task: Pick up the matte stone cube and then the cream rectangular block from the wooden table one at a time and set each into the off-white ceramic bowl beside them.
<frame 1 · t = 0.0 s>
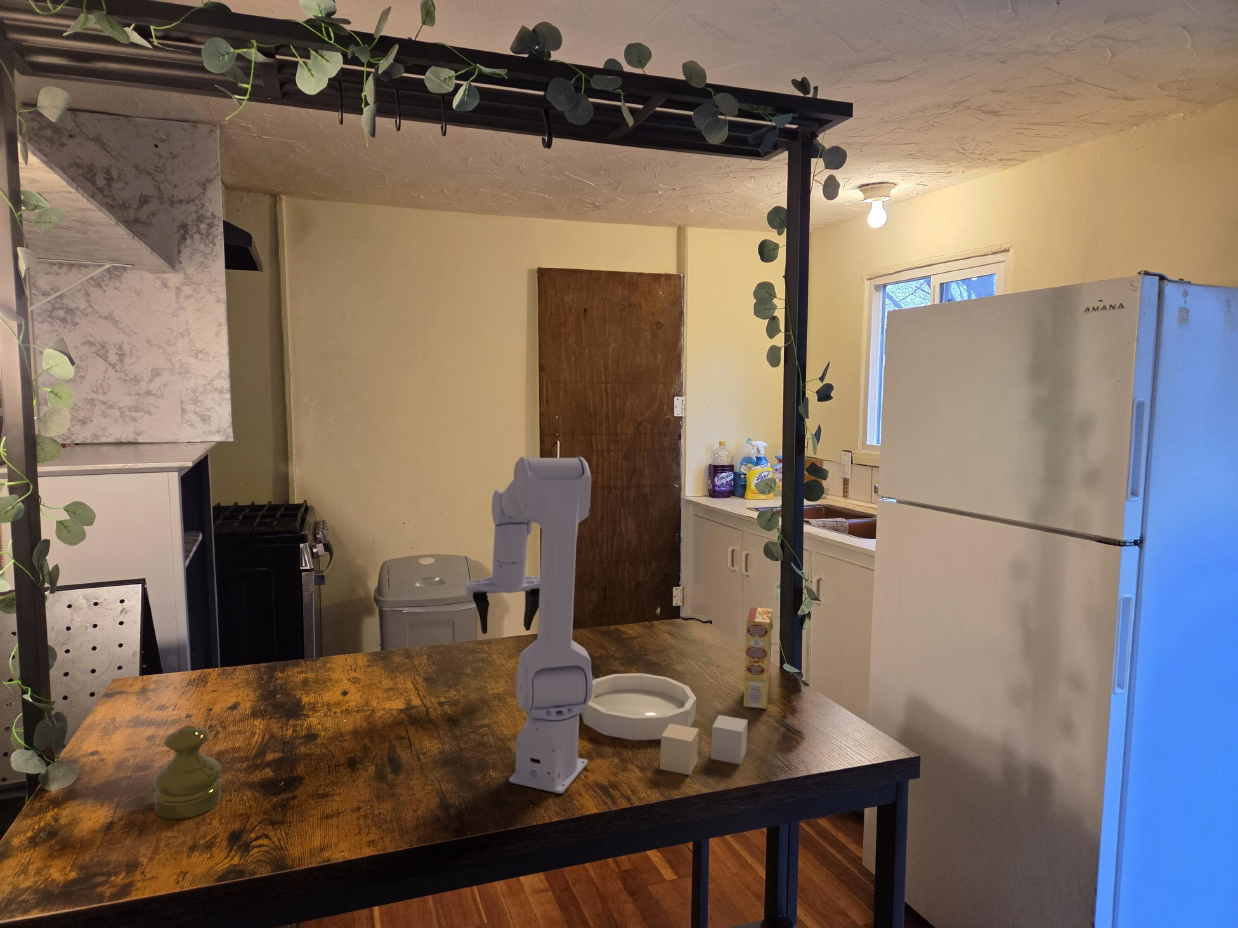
hand: (505, 629, 138), 11 cm above the table, tool pointing down, fingers open, 7 cm apart
matte stone cube: (728, 755, 117), on the table
cream rectangular block: (678, 765, 113), on the table
olive green knobbed piece: (188, 806, 98), on the table
candy box: (755, 699, 138), on the table
bowl: (637, 714, 130), on the table
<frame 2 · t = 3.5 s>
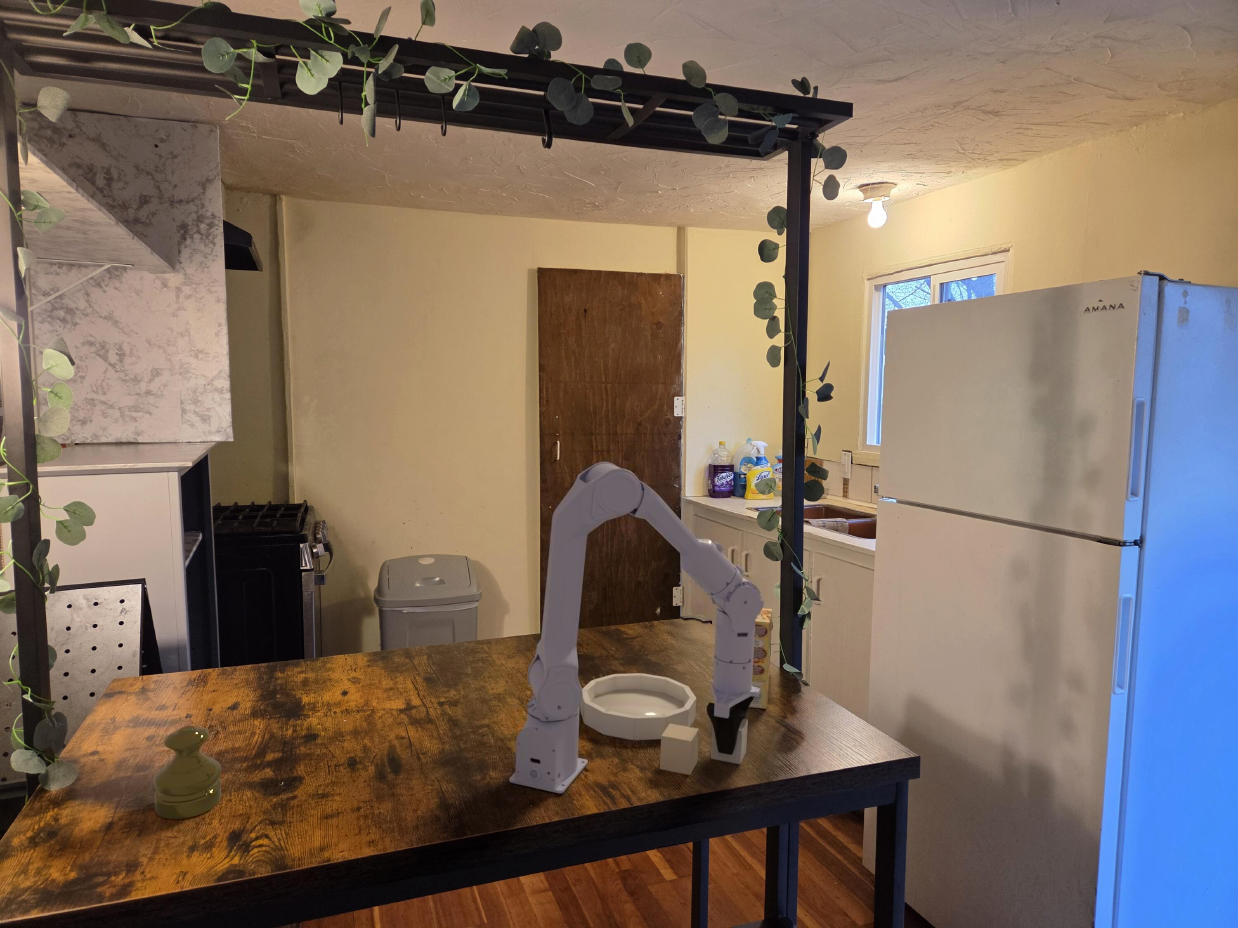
hand: (729, 745, 116), 1 cm above the table, tool pointing down, fingers closed on matte stone cube, 4 cm apart
matte stone cube: (728, 754, 117), on the table, touching gripper
everything else where it was.
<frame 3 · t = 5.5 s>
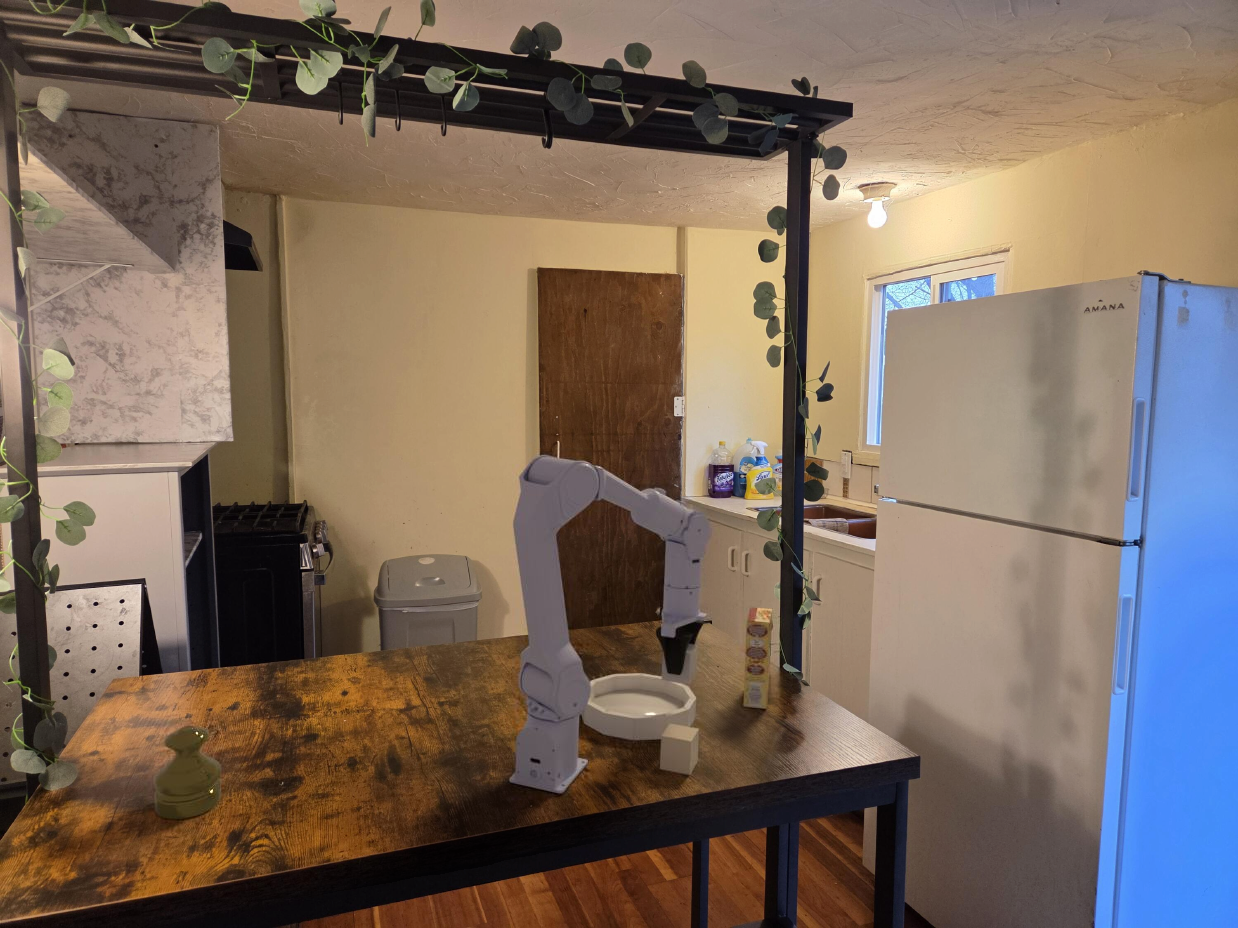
hand: (678, 668, 124), 10 cm above the table, tool pointing down, fingers closed on matte stone cube, 4 cm apart
matte stone cube: (679, 677, 124), point 8 cm above the table, touching gripper
everything else where it was.
when the fingers open (4 cm above the table, at t = 7.5 s): matte stone cube drops 1 cm, resting on bowl.
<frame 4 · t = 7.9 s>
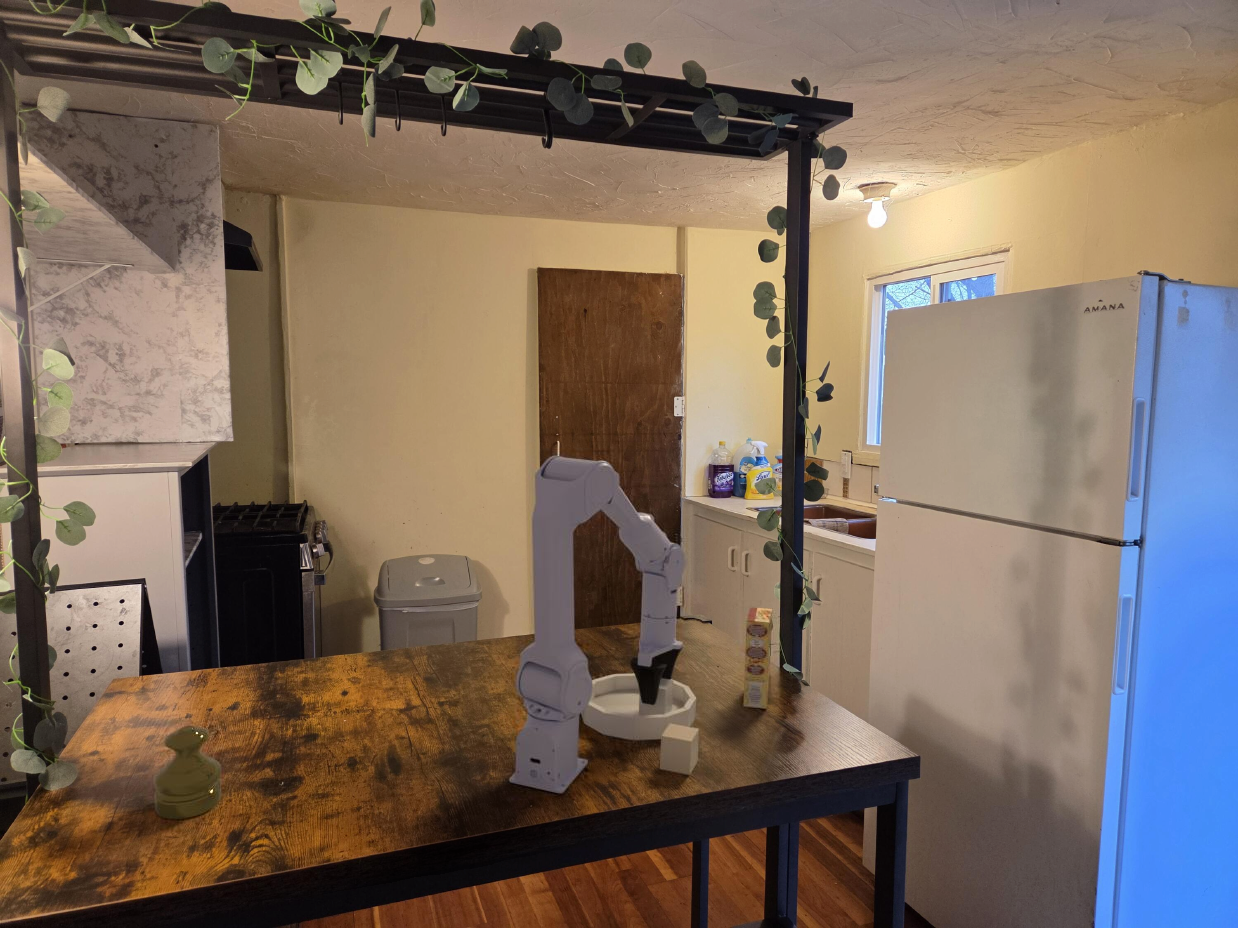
hand: (655, 694, 128), 4 cm above the table, tool pointing down, fingers open, 7 cm apart
matte stone cube: (655, 711, 129), point 1 cm above the table, touching bowl
everything else where it was.
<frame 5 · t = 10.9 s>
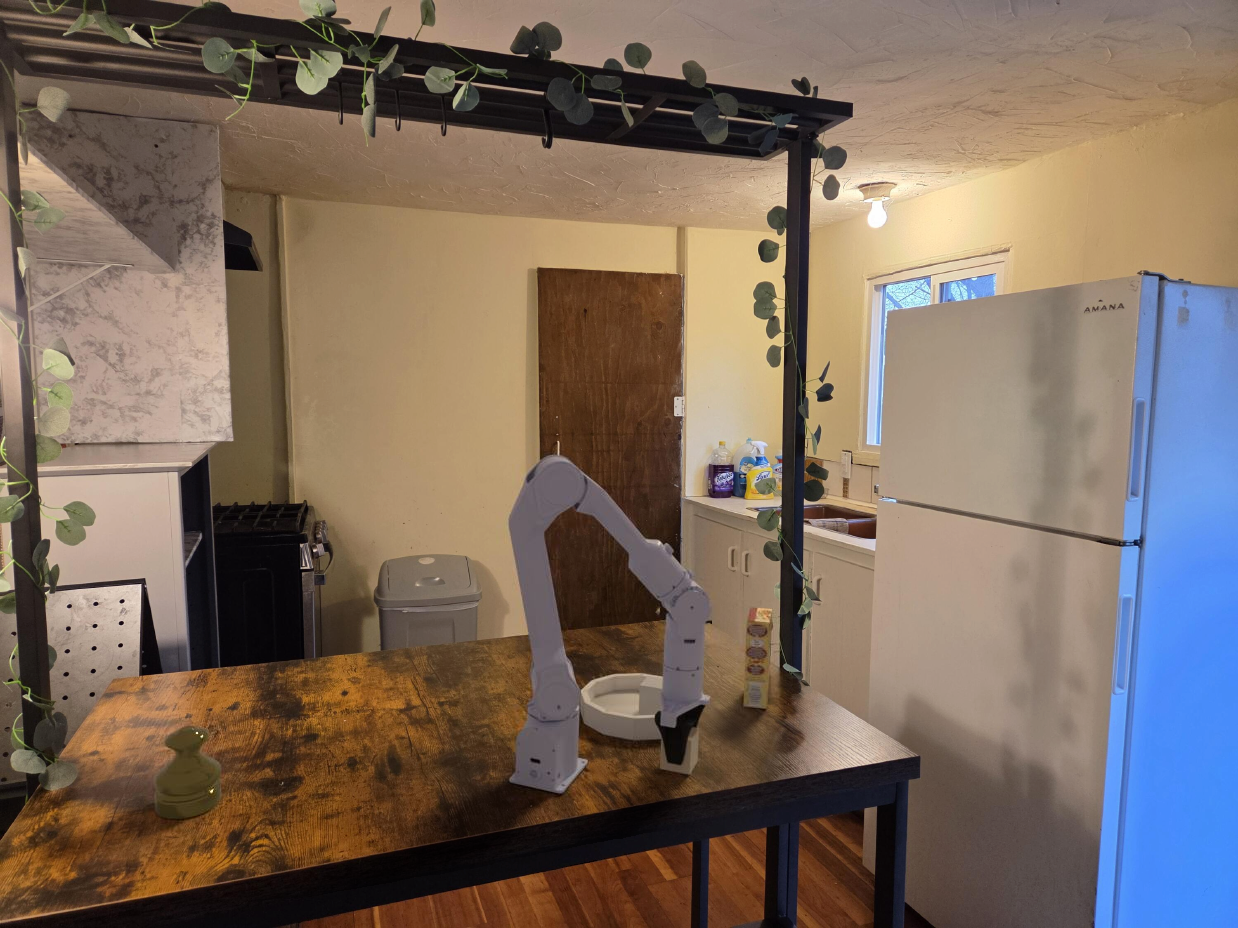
hand: (679, 755, 113), 1 cm above the table, tool pointing down, fingers closed on cream rectangular block, 4 cm apart
cream rectangular block: (679, 764, 113), on the table, touching gripper
everything else where it was.
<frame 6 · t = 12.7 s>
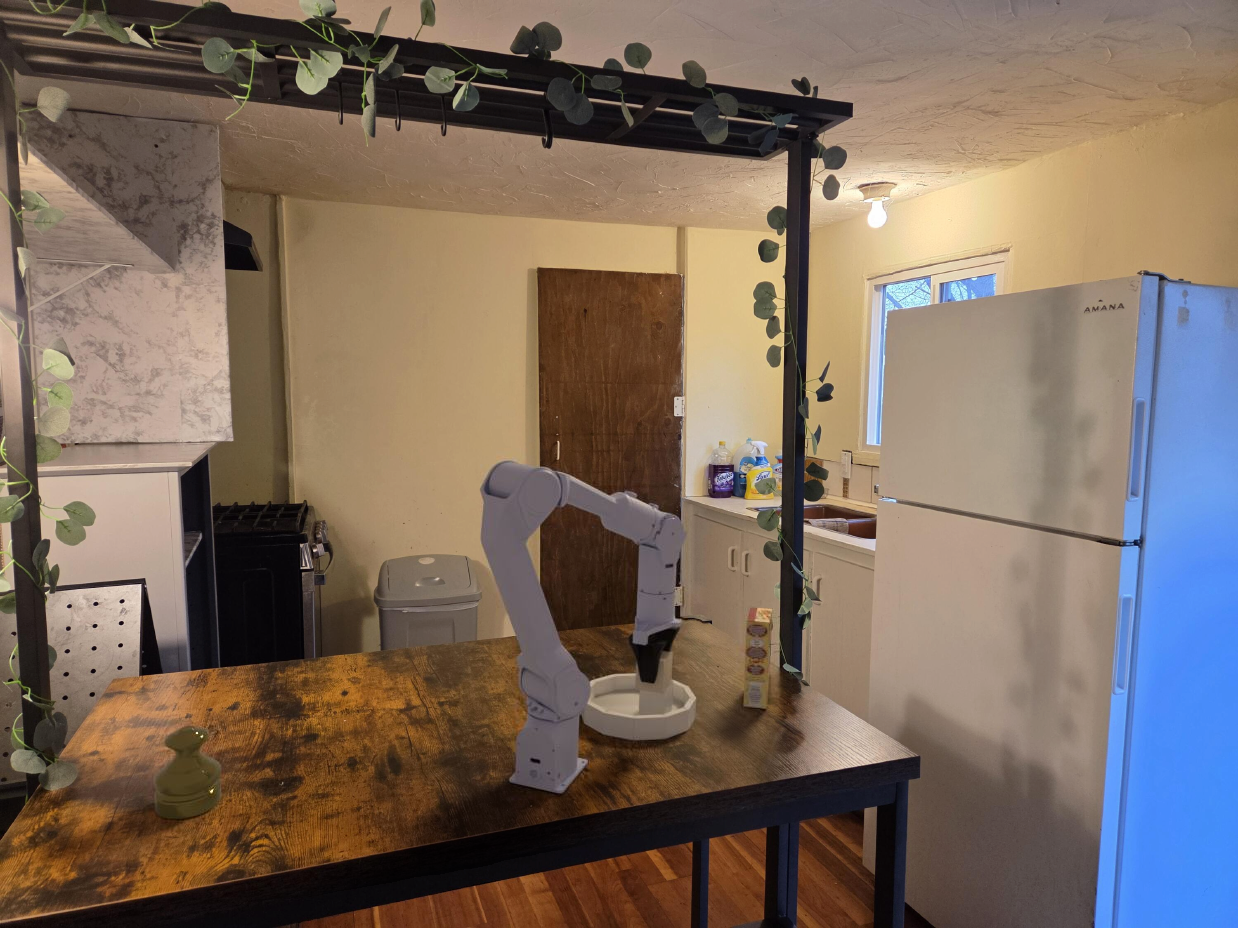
hand: (653, 676, 120), 10 cm above the table, tool pointing down, fingers closed on cream rectangular block, 4 cm apart
cream rectangular block: (653, 686, 120), point 8 cm above the table, touching gripper
everything else where it was.
when the fingers open (4 cm above the table, at t = 15.0 s): cream rectangular block drops 1 cm, resting on bowl.
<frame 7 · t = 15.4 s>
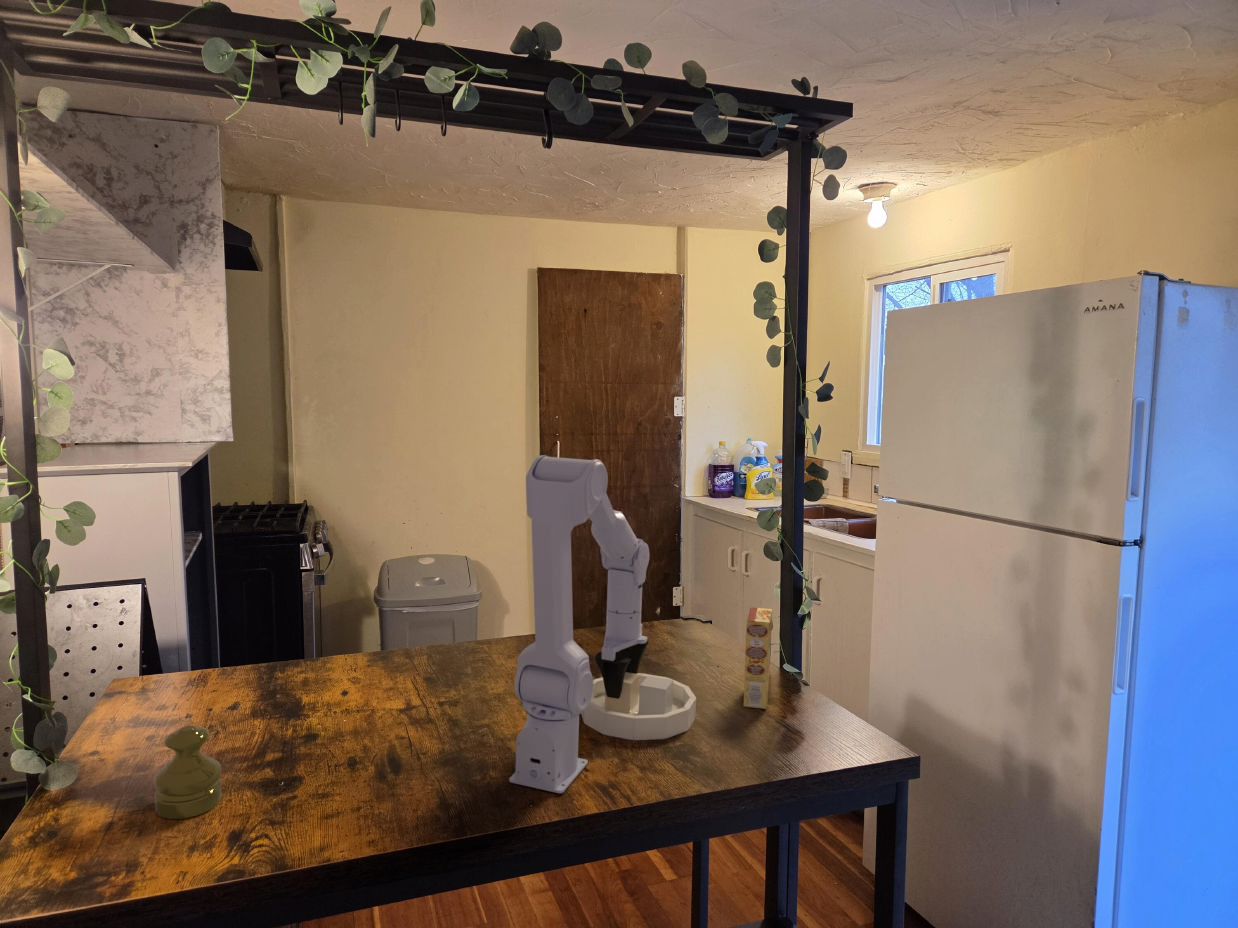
hand: (621, 688, 130), 4 cm above the table, tool pointing down, fingers open, 7 cm apart
cream rectangular block: (621, 705, 131), point 1 cm above the table, touching bowl
everything else where it was.
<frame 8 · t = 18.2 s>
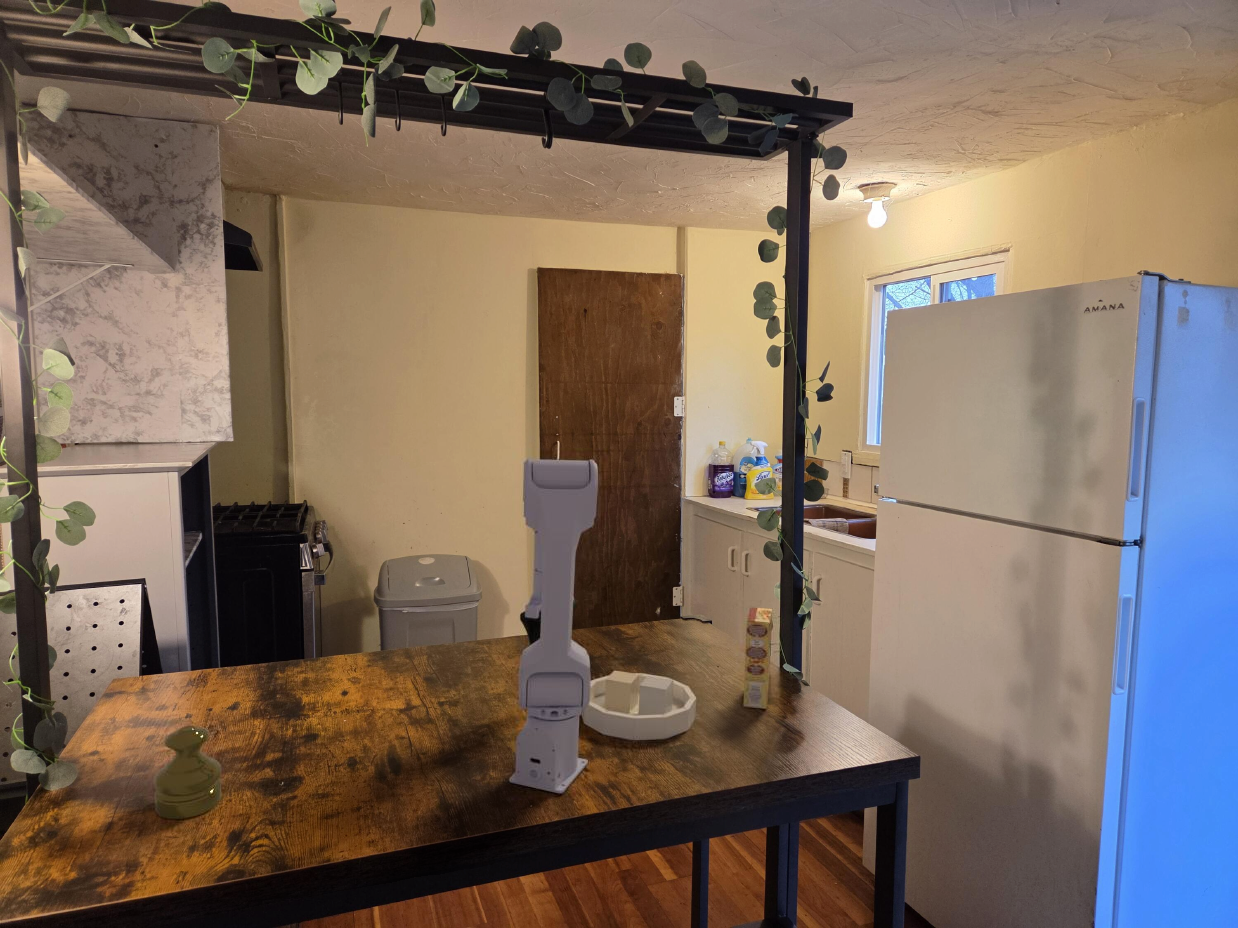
hand: (548, 648, 131), 10 cm above the table, tool pointing down, fingers open, 7 cm apart
nothing on the table moved.
at the end: matte stone cube inside the target area on the bowl (3.1 cm from its centre), point 1.0 cm above the bowl's base; cream rectangular block inside the target area on the bowl (2.8 cm from its centre), point 1.0 cm above the bowl's base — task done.
